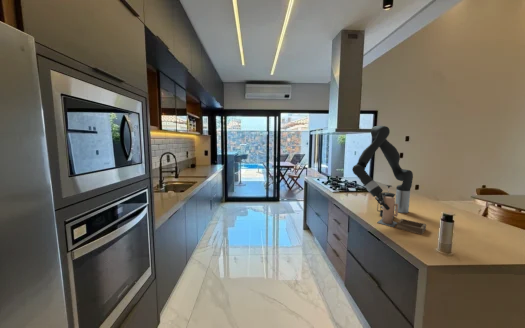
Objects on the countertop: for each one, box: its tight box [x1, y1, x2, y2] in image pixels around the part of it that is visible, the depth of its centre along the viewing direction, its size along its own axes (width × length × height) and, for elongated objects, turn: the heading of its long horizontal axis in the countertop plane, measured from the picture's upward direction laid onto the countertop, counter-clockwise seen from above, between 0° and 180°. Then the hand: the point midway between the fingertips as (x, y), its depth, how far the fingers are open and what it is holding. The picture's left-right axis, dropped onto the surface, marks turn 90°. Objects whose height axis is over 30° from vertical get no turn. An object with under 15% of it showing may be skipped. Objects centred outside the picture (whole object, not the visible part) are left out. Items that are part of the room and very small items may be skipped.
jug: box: [381, 196, 399, 224], centre depth 150 cm, size 6×9×17 cm
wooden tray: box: [396, 218, 427, 235], centre depth 142 cm, size 11×13×4 cm
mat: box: [376, 218, 398, 228], centre depth 151 cm, size 10×10×1 cm
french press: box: [376, 184, 396, 219], centre depth 165 cm, size 12×9×23 cm
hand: (390, 208), depth 149 cm, fingers open, 8 cm apart
